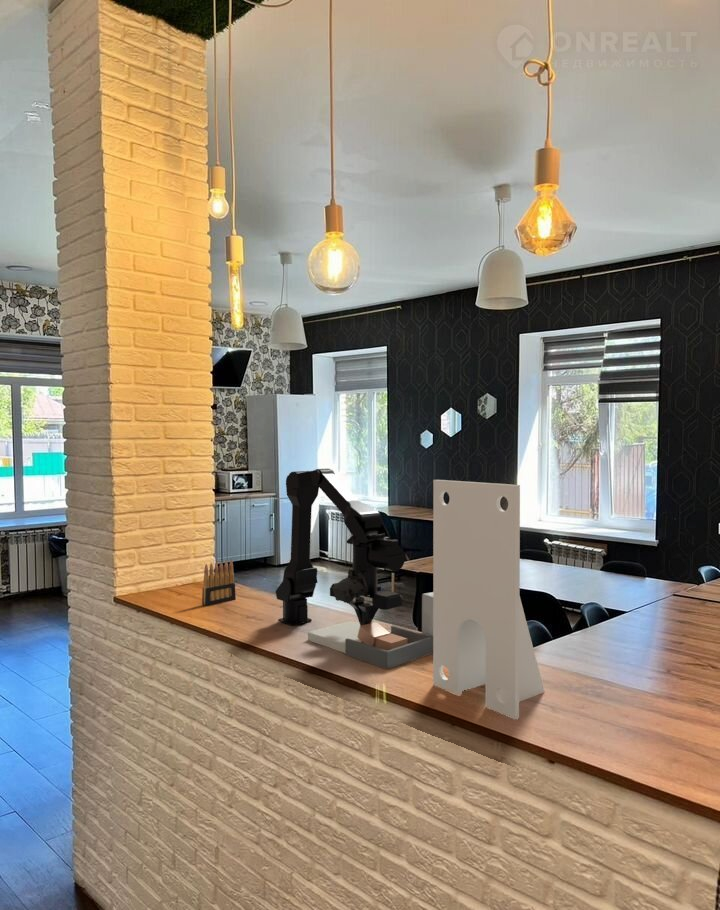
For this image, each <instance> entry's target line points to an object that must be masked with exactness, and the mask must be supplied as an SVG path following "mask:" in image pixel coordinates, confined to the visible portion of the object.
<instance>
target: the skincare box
mask: <svg viewBox="0 0 720 910" xmlns="http://www.w3.org/2000/svg"><path fill="white" fill-rule="evenodd" d="M421 633H423V634H427V635H430V636H433V591H432V592H426V593H422V594H421Z"/></svg>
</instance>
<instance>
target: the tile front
mask: <svg viewBox="0 0 720 910" xmlns="http://www.w3.org/2000/svg"><path fill="white" fill-rule="evenodd" d="M406 644H407V638H404V637H401V636H398V635H395V634H388V635H385V636H381V637H378V638H376V647H377V648H380V649H383V650H387V651H388V650H391V649H394V648H397V647H400V646H403V645H406Z"/></svg>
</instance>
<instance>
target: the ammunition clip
mask: <svg viewBox="0 0 720 910" xmlns="http://www.w3.org/2000/svg"><path fill="white" fill-rule="evenodd" d="M233 563H234V562H233V560H232V559H230V561H229V563H228V561H227V560H225V562H224V565H223V561H220V562H219V564H218V562H215V564H214V565H213V563H212V562H211V563H210V564H209V565H210V566H209V567H208V564H207V563H206V564H205V565H204V568H203V569H204V571H203V587H202V594H201V595H202V597H201V598H202V599H201V601H202V602H201V603H202V604H201V605H202V606H204V607H207V606H213V605H218V604H222V603H226V602H232V601H236V597H237V596H236V583H235V573H234V564H233ZM218 565H219V566H218Z"/></svg>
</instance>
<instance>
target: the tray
mask: <svg viewBox="0 0 720 910" xmlns="http://www.w3.org/2000/svg"><path fill="white" fill-rule="evenodd" d="M390 632H391V634H395V635H398V636H401V637H404V638H407V644H406V645H403V646H400V647H397V648H394V649H391V650H388V651H387V650H383V649H380V648H377V647H374V646H371V645H367V644H364V643H361V642H358V641H355V640H352V639H345V653H344V654H345V656H348V657H351V658H353V659H356V660H360V661H363V662H365V663H368V664H371V665H373V666H377V667H379V668H383V669H386V670H389V669H391V668H395V667H397V666H400V665H403V664H406V663H408V662H412V661H414V659H415V660H417V659H420V658H423V657H426V656H428V655H431V654H432V655H433V636H430V635H427V634H423V633H422V632H419V631H416V630H411V629H407V628H405V627H401V626H397V625H390ZM425 655H426V656H425ZM422 656H423V657H422ZM411 660H412V661H411Z"/></svg>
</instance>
